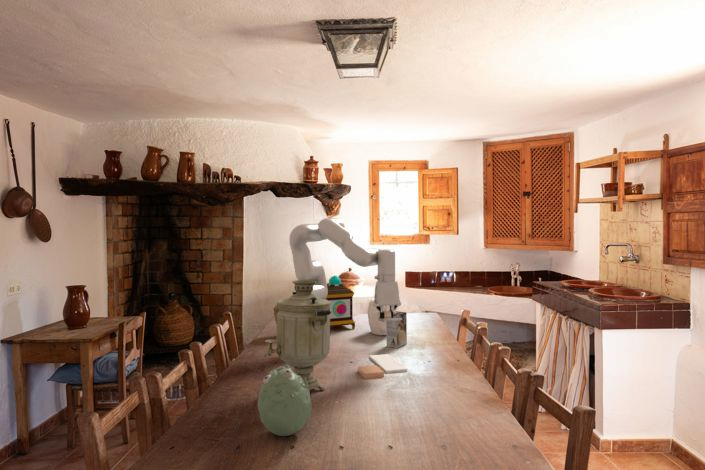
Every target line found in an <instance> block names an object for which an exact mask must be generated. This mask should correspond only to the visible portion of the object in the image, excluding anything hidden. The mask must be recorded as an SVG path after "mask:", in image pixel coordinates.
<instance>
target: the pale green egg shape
mask: <svg viewBox="0 0 705 470" xmlns="http://www.w3.org/2000/svg"><path fill="white" fill-rule="evenodd" d="M310 391H311V390H309V388H308V384H307V380H306V379H304V380H302V377H300V375H297V373H295V372H294V370H292V368H291V366H290V365H288V364H285V365H280V366H278V367H275V368H274V369H272V370H269V373H268V374H266V375H265V376H264V378H263V380H262V384H261V387H260V389H259V393H258V399H257V410H258V413H259V419H260V421H261V424H263V426H264V427H265V429H267V430H268V432H270V433H272V434H274V435H276V436H279V437H288V436H291V435H294V434H296V433H297V432H298V431H300V430H301V429H302V428H303V427H304V426H305V425H306V424H307V421H308V420H309V418H310V415H311V413H312V409H313V408H312V406H313V405H312V400H311V393H310Z"/></svg>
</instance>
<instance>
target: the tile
mask: <svg viewBox="0 0 705 470" xmlns="http://www.w3.org/2000/svg"><path fill="white" fill-rule="evenodd" d="M357 372H358V373H359V374H360V375H361V376H362V377H363V379H375V377H376V378H384V377H385V371H384V370H382V369H381V368H380V367H379V366H378V365H377V364H375V365H363V366H361V365H360V366H357Z"/></svg>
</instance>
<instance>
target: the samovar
mask: <svg viewBox="0 0 705 470" xmlns="http://www.w3.org/2000/svg"><path fill="white" fill-rule="evenodd" d="M291 283H293V284H294V291H293V292H291V293H292V295H291V296H290V297H286V298H281V299H279V300H276V302H275V303H276V305H277V307H278V309H279V312H278V313H277V324H276V339H274V338H268V339H266V340H264V341H265V343H269V346H268V347H269V348H268V350H267V351H265V352H264V354H263V355H262V358H267V356H272V355H273V353H276V355H278V358H279V359H280V360H282V362H284V363H285V364H286V365H288V366H289V367H293V372H294V373H295V374H296V375H300V377H302V380H304V379H306V380H307V384H308V388H309V391H312V390H314V389H316V388H317V389H319V390H321V391H322V392H323V391H325V390H326V389H325V387H324V386H321V383H319V381H318V379H316V378H315V377H314V376H313V375H311V373H313V372H314V366H317V365H319V364H320V363H321V362H322V361H324V360H325V359H326V358H327V357H328V355H329V353H330V348H331V347H330V342H331V339H330V338H331V333H330V332H331V327H330V313H332V312H331V311H330V310H329V307H330V304H331V302H330V301H328V300H326V299H321V298H318V297H317V296H315V295H313V294H312V291H313V285H314V284H315V283H316V281H312V280H298V279H296V280H292V282H291ZM274 343H276V348H275V349H274V348H273V344H274Z"/></svg>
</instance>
